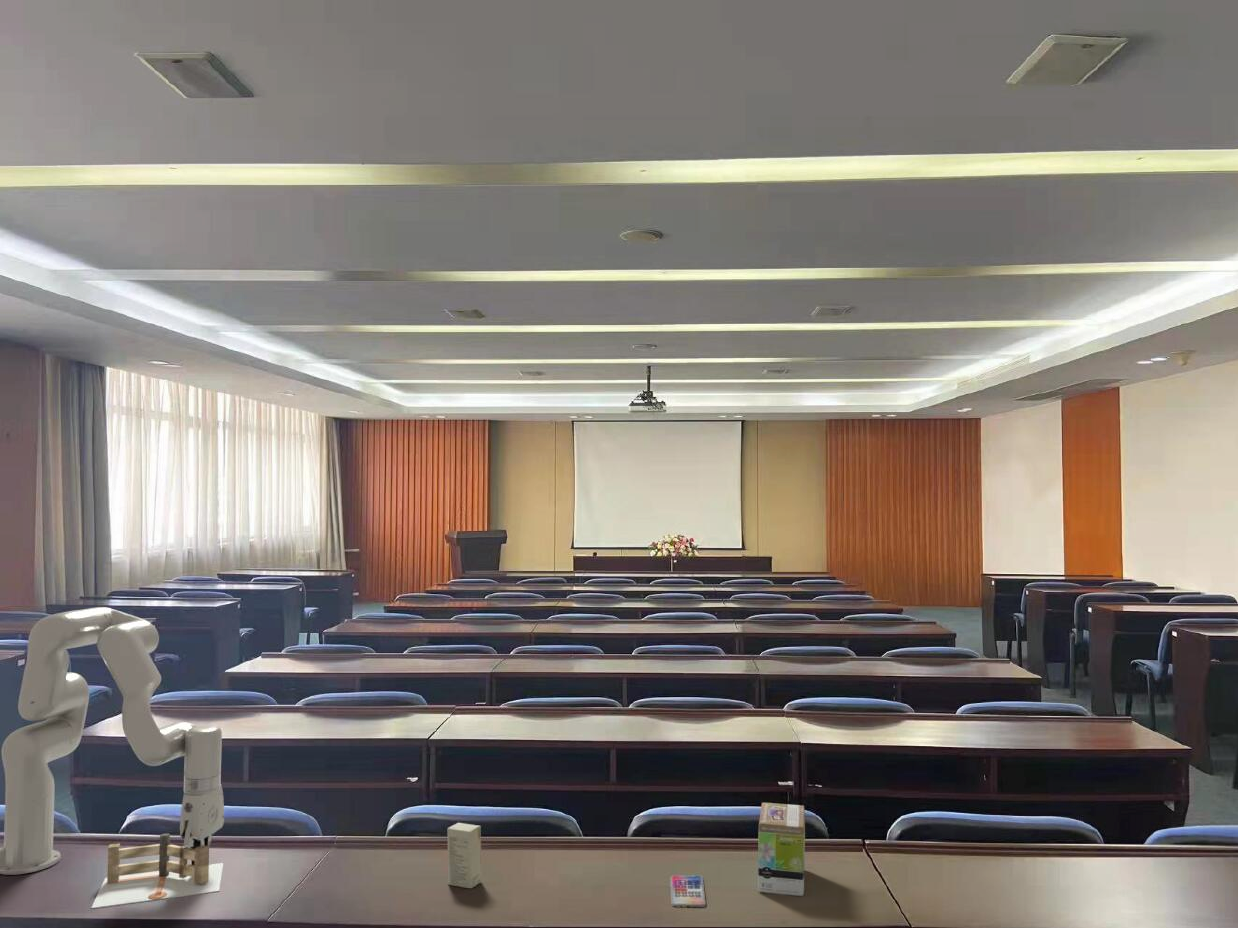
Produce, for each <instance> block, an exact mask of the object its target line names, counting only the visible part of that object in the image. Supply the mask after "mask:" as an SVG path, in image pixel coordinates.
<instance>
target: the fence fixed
mask: <svg viewBox="0 0 1238 928" xmlns="http://www.w3.org/2000/svg"><path fill="white" fill-rule="evenodd" d="M170 844H171V834H170V833H162V834H160V835H159V843H156V844H148V845H142V846H141V845H140V846H133V847H132V846H131V847H125V848H124V847H123V848H121V843H119V842H118V843H112V844H109V845H108V847H107V875H106V876H107V877H106V878H107V884H113V883H118V881H119V876H123V875H131V874H139V873H147V872H155V871H159V876H160V877H165V876H168V875H169V872H168V871H166V869H167V862H168V861H170V856H169V855H167V846H168V845H170ZM152 856H159V859H155V860H150V861H149V860H148V861H140V862H133V863H126V864H125V863H123V864H120V861H121V860H126V859H136V858H145V857H152Z"/></svg>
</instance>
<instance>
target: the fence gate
mask: <svg viewBox="0 0 1238 928" xmlns="http://www.w3.org/2000/svg"><path fill="white" fill-rule="evenodd" d="M167 855H169V857H175V858H178V859H179V861H176V860H170V859H169V861H168V862H167V869H166V871H168V872H173V873H177V874H179V877H180V878H185V877H187V876H191V877H194V883H195V884H200V885H202V884H204V883H206V882H208V881H209V865H210V846H205V845H201V846H199V847H197V848H195V849H191V848H190V847H184V846H181V845H175V844H171V843H170V845H168V846H167ZM188 860H189V861H191V860H192V861H195V865H191V863H190V864H189V863H188Z"/></svg>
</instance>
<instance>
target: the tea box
mask: <svg viewBox="0 0 1238 928" xmlns="http://www.w3.org/2000/svg"><path fill="white" fill-rule="evenodd" d="M760 807H761V809H760V814H759V822H758V840H757V841H758V845H757V847H758V848H757V849H758V850H757V851H758V854H757V855H758V859H757V860H758V861H757V862H758V863H757V865H758V866H757V868H758V869H757V892H760V893H766V894H774V895H775V894H776V895H786V896H787V895H789V896H796V897H797V896H799V897H803V895H804V894H805V892H804V891H805V864H806V861H805V858H806V851H805V850H806V818H805V816H806V815H805V806H804V805H800V804H789V803H787V804H786V803H776V802H775V803H773V802H761V806H760Z"/></svg>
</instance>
